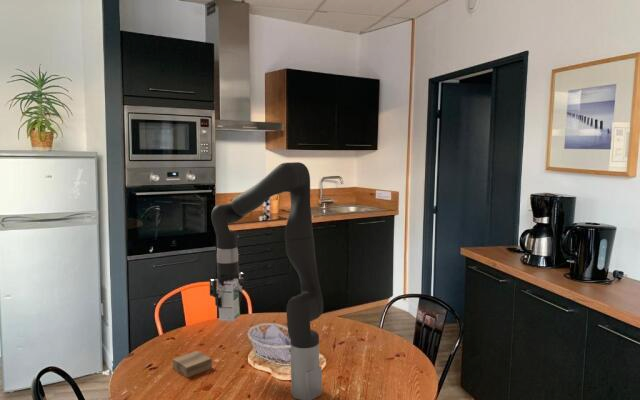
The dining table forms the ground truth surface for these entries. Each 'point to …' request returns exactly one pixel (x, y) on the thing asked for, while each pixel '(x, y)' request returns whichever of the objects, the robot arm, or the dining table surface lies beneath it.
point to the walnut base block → (192, 363)
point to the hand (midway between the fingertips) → (229, 304)
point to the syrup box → (229, 301)
